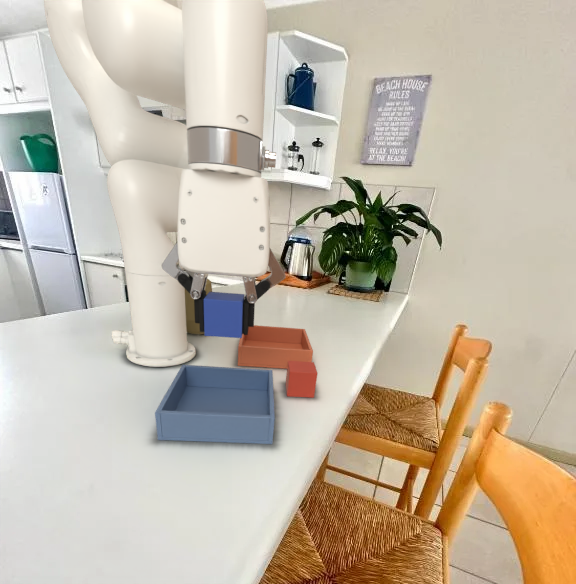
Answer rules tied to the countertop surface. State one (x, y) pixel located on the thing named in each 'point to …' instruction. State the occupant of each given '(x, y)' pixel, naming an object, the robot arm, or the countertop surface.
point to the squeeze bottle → (189, 305)
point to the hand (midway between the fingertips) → (225, 329)
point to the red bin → (273, 347)
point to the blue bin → (218, 406)
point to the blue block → (223, 314)
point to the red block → (301, 379)
